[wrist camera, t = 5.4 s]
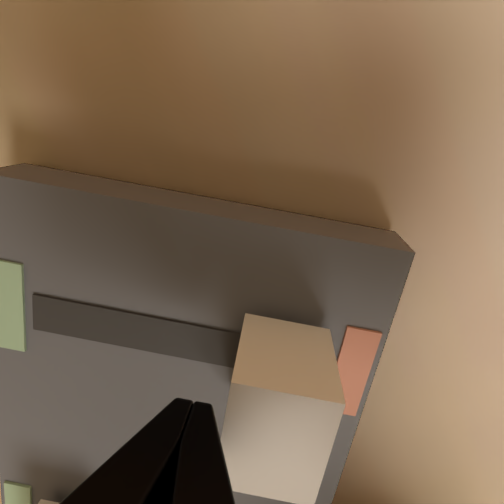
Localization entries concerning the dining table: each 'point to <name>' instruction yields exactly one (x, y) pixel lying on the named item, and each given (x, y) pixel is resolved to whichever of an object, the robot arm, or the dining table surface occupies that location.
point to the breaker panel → (162, 314)
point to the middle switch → (47, 502)
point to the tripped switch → (282, 410)
